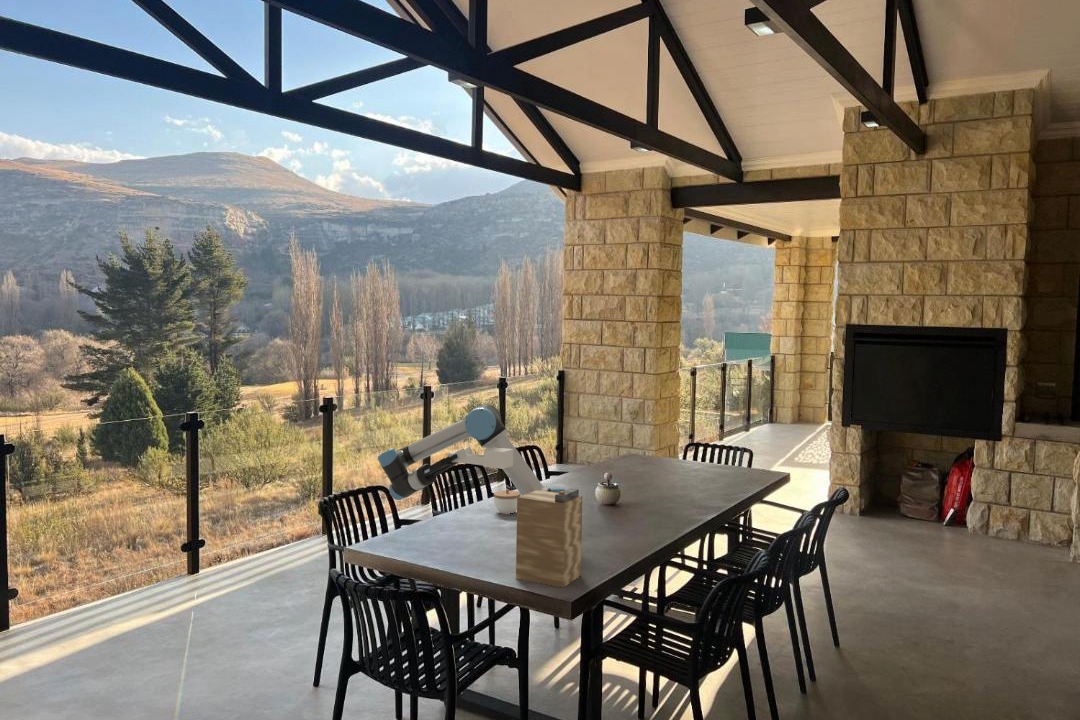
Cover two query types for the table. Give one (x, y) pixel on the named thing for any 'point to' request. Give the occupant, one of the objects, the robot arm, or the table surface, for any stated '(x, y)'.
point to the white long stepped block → (489, 458)
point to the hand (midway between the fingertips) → (467, 451)
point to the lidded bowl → (506, 501)
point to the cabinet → (549, 537)
